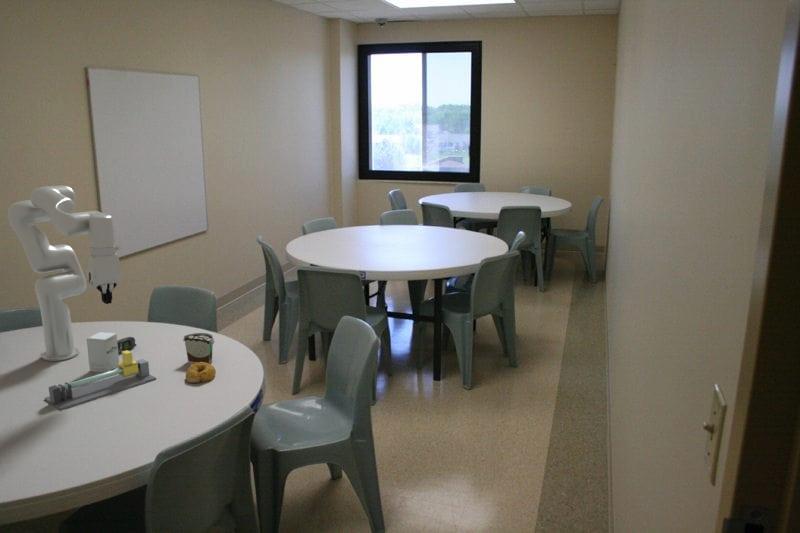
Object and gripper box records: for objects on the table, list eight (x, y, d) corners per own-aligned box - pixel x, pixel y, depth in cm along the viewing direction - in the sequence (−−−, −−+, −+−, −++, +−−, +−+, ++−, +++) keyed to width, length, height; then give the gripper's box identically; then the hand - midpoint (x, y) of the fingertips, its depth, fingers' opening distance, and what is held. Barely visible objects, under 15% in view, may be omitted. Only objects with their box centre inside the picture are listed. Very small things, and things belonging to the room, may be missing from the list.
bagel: (178, 381, 221) (177, 368, 220) (199, 370, 231) (199, 358, 230) (201, 386, 217) (200, 373, 216) (222, 375, 227) (221, 363, 226)
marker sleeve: (118, 374, 220) (116, 352, 218) (132, 370, 224) (130, 348, 222) (124, 377, 218) (122, 355, 216) (138, 373, 221) (136, 351, 219)
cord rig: (44, 399, 206) (42, 383, 205) (138, 370, 230) (137, 355, 229) (61, 410, 198) (58, 393, 197) (156, 379, 222) (154, 364, 221)
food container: (222, 359, 241) (221, 334, 239) (212, 365, 235) (211, 339, 233) (194, 355, 245) (193, 330, 242) (184, 361, 239) (182, 335, 237)
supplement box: (107, 373, 227) (104, 339, 224) (89, 371, 229) (85, 338, 226) (120, 365, 234) (117, 333, 231) (102, 363, 236) (99, 331, 233)
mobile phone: (105, 347, 240) (138, 334, 252) (100, 345, 241) (133, 333, 254) (107, 359, 241) (139, 346, 254) (101, 358, 242) (134, 345, 255)
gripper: (119, 246, 223) (123, 296, 228) (75, 252, 212) (80, 304, 217) (130, 250, 218) (133, 301, 223) (85, 256, 207) (89, 310, 212)
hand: (107, 302), depth 220 cm, fingers closed
